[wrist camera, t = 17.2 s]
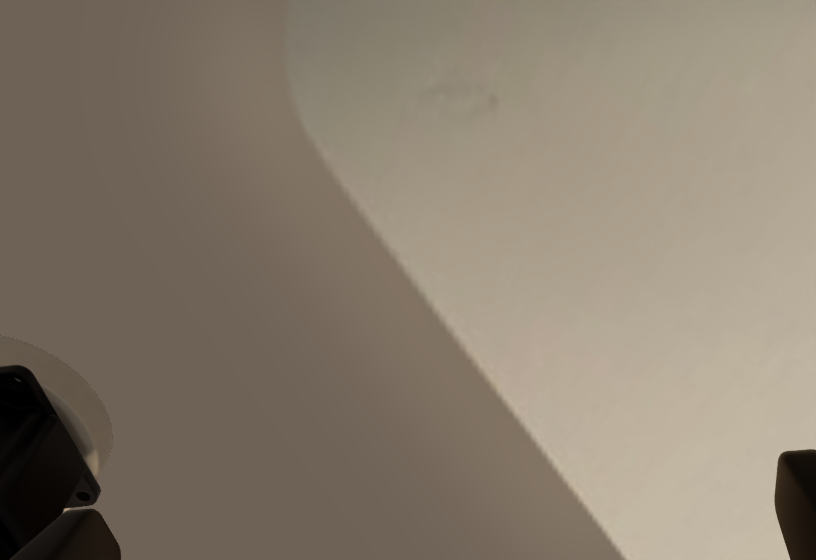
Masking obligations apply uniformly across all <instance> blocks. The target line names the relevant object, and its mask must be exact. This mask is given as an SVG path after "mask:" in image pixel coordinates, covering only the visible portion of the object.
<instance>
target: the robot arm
mask: <svg viewBox="0 0 816 560" xmlns="http://www.w3.org/2000/svg"><path fill="white" fill-rule="evenodd" d="M15 378H16V379H18V380H20V381H21V382H20V381H17V380H16V379H15ZM100 492H101V490H100V486H99V485H98V483H97V481H96V480H95V478H94V476H93V474H92V473H91V471H90V469H89V468H88V466H87V464H86V462H85V461H84V459H83V457H82V456H81V454H80V452H79V451H78V449H77V447H76V445H75V444H74V442H73V440H72V439H71V437H70V435H69V433H68V432H67V430H66V428H65V427H64V425H63V423H62V422H61V420H60V418H59V416H58V415H57V413H56V411H55V410H54V408H53V406H52V404H51V403H50V401H49V399H48V398H47V396H46V394H45V393H44V391H43V389H42V387H41V386H40V384H39V382H38V381H37V379H36V377H35V375H34V374H33V373H32V372H31V370H29V369H28V368H26V367H24V366H21V365H10V366H4V367H0V560H121V552H120V547H119V545H118V543H117V541H116V539H115V538H114V536H113V534H112V532H111V531H110V529H109V528H108V526H107V524H106V522H105V521H104V519H103V517H102V516H101V514H100V513H99V512H98V511H96V510H95V509H81V510H70V511H67V512H65V513H63V511H64V509H65V508H73V507H82V506H89V505H93V504H94V503H95V502H96V501H97V499H98V497H99V495H100ZM775 509H776V514H777V518H778V521H779V524H780V528H781V531H782V534H783V537H784V540H785V544H786V547H787V550H788V553H789V556H790V559H791V560H816V450H813V449H809V450H797V451H786V452H783V453H782V454H781V455H780V457H779V459H778V467H777V477H776V488H775ZM62 513H63V514H62Z"/></svg>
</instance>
